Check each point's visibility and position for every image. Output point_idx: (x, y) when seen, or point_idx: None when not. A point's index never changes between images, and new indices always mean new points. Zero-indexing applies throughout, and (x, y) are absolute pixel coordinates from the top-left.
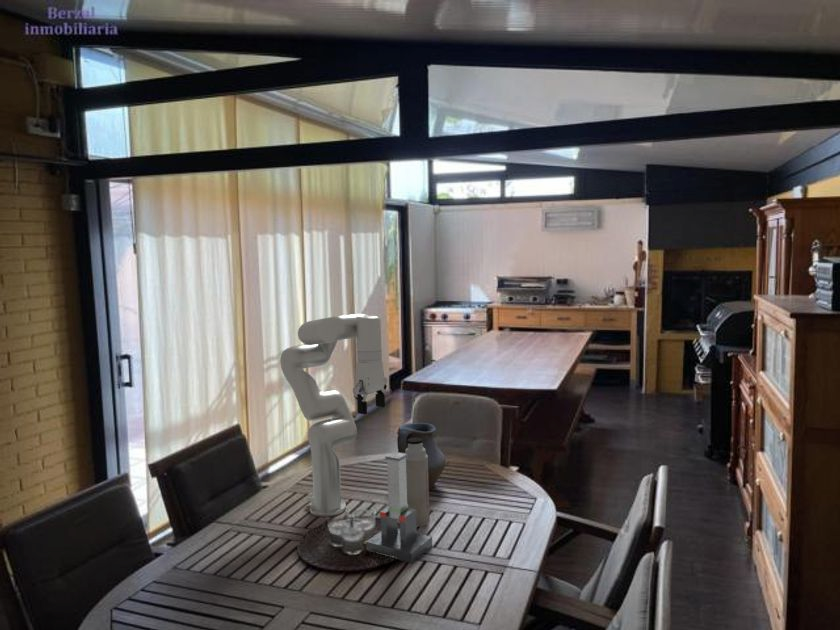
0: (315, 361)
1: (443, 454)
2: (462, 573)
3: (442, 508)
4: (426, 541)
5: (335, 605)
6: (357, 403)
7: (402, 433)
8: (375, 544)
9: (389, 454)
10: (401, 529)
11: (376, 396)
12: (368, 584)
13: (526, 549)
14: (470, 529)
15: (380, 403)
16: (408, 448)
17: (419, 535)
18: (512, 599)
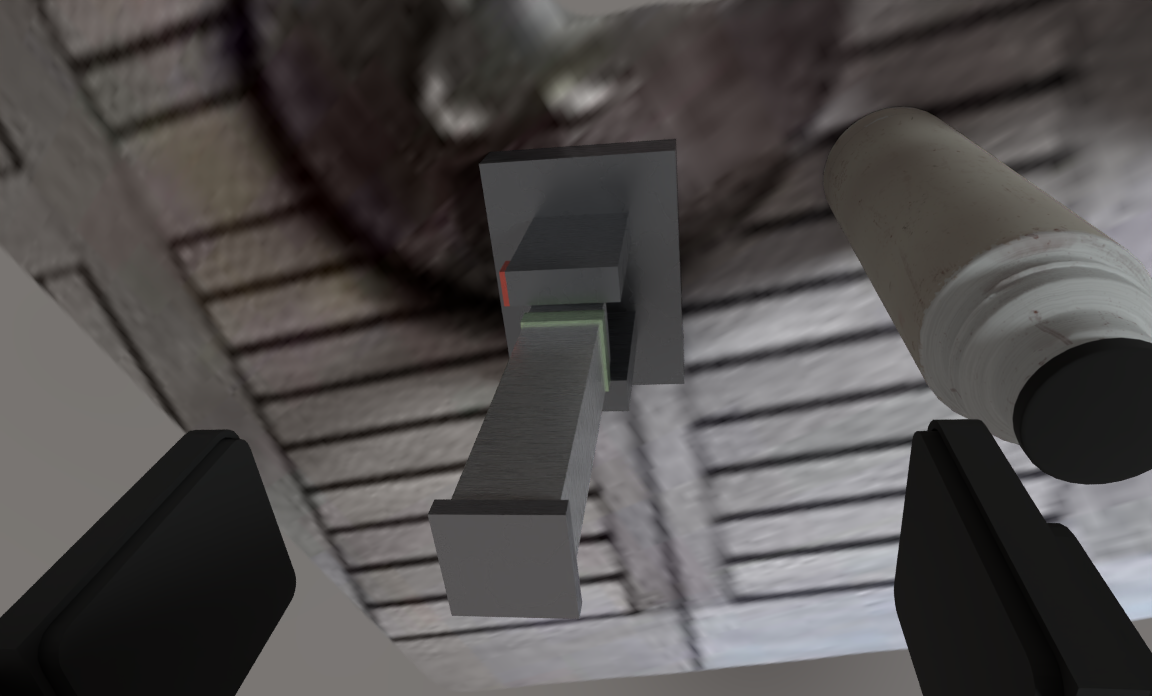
0: None
1: None
2: None
3: (1113, 195)
4: (635, 383)
5: (161, 307)
6: (39, 584)
7: None
8: (487, 217)
9: (485, 518)
10: None
11: (1008, 652)
12: (316, 320)
13: (825, 624)
14: (905, 419)
15: (918, 596)
16: (1015, 341)
17: (665, 335)
18: (526, 666)
